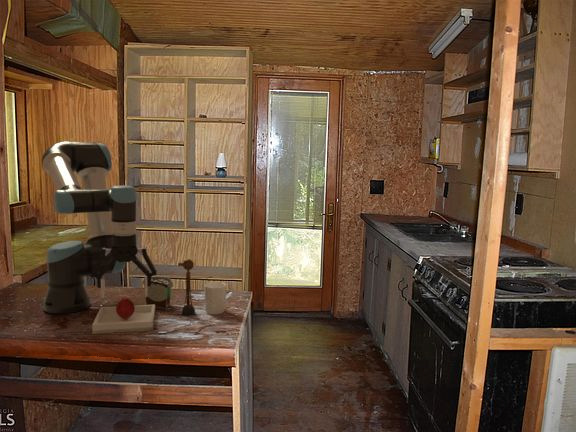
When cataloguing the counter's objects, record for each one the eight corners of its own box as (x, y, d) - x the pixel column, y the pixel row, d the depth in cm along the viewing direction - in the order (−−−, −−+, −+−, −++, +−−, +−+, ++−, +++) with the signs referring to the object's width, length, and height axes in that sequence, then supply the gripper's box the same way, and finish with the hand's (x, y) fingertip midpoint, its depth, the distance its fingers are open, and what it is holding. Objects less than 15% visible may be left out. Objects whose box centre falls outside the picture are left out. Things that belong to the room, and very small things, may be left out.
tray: (92, 334, 139) (92, 324, 139) (100, 315, 154) (100, 307, 154) (152, 330, 143) (152, 321, 143) (155, 312, 159) (155, 304, 158)
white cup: (221, 316, 157) (221, 288, 156) (200, 313, 159) (200, 286, 157) (229, 308, 165) (229, 282, 164) (208, 306, 166) (209, 280, 165)
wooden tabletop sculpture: (176, 315, 157) (176, 260, 154) (181, 310, 161) (181, 256, 158) (192, 316, 156) (192, 261, 153) (197, 312, 160) (197, 257, 157)
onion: (119, 316, 151) (118, 293, 150) (136, 316, 152) (136, 293, 151) (114, 322, 146) (113, 299, 145) (132, 322, 146) (132, 299, 145)
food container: (180, 305, 167) (180, 279, 166) (169, 310, 162) (169, 283, 160) (154, 299, 172) (154, 274, 171) (143, 304, 167) (142, 278, 165)
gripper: (79, 236, 138) (82, 301, 141) (163, 235, 144) (163, 298, 147) (84, 231, 145) (86, 293, 148) (164, 231, 151) (164, 291, 155)
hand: (124, 296), depth 148 cm, fingers open, 13 cm apart
